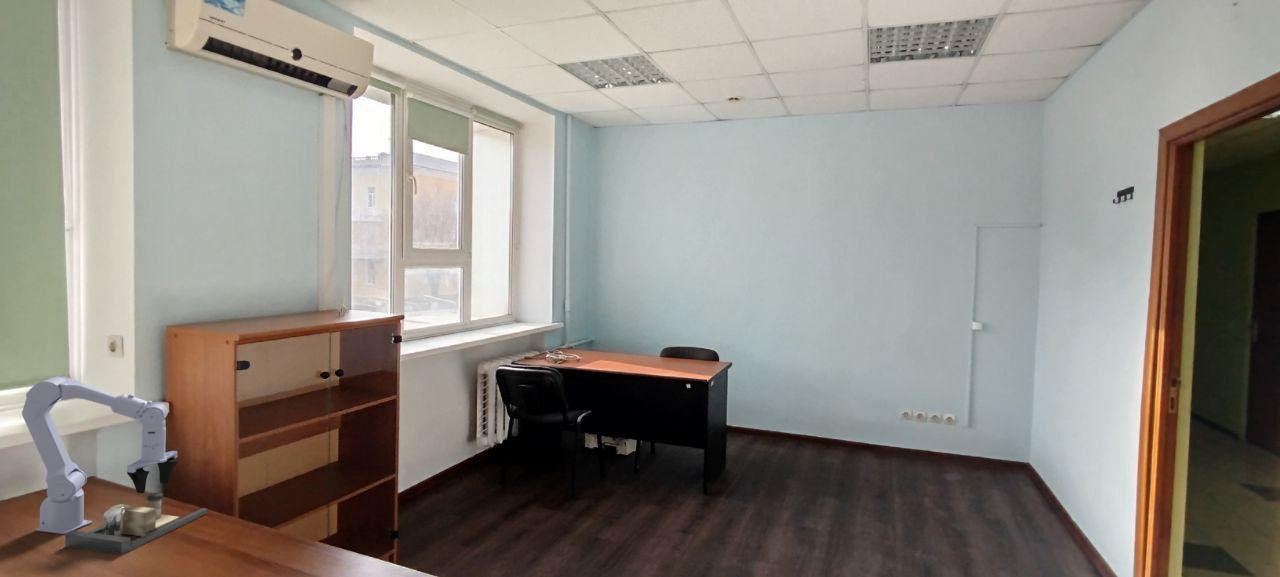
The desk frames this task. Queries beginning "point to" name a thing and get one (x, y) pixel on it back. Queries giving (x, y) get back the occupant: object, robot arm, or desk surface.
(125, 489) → the desk surface
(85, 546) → the grey tray
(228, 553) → the desk surface
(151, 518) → the clamp jaw
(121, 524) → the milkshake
